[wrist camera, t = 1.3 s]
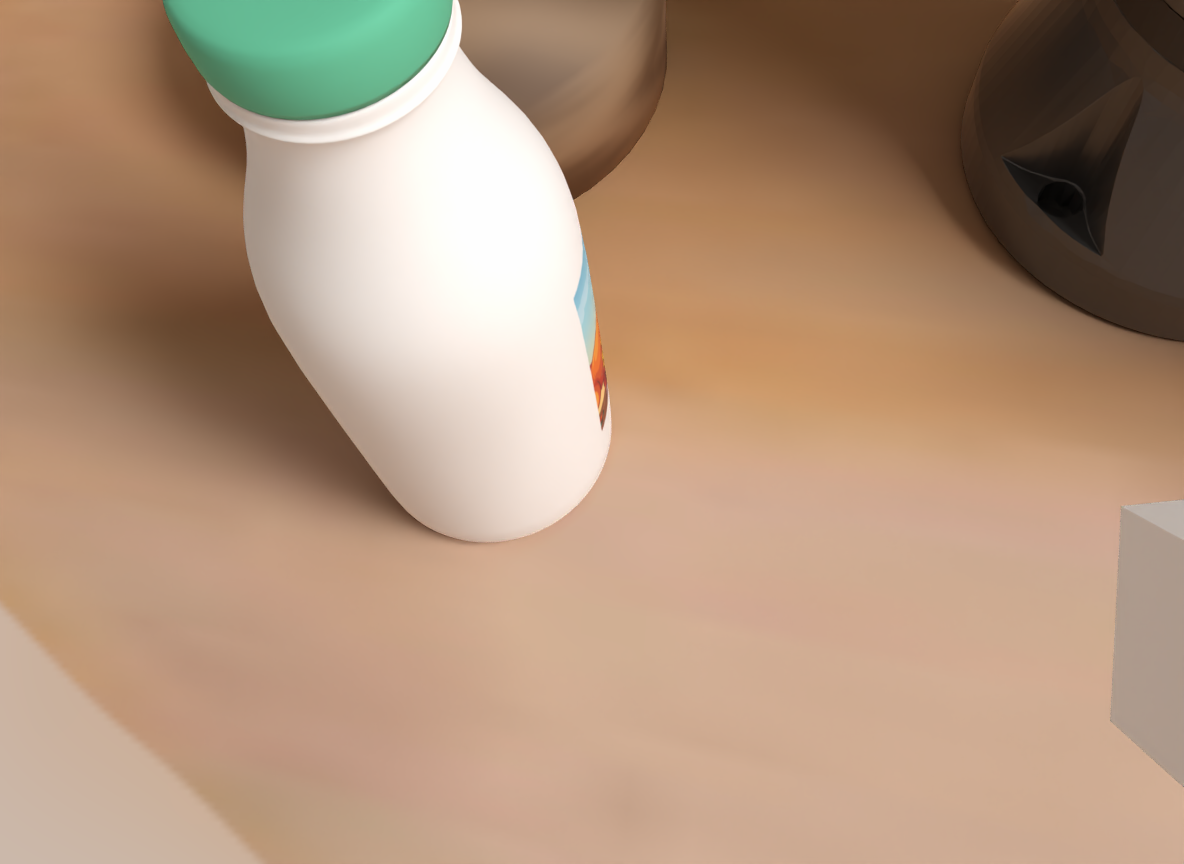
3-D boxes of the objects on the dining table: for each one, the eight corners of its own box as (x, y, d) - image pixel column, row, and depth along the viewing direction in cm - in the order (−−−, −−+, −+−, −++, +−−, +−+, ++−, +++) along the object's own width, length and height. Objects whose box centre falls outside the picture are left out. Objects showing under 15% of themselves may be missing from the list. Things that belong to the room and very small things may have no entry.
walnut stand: (334, -104, 46) (286, -241, 40) (702, -66, 43) (705, -206, 38) (199, 202, 40) (121, 92, 34) (616, 267, 37) (605, 160, 32)
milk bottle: (605, 555, 33) (508, 141, 15) (364, 543, 34) (-11, 136, 16) (621, 336, 36) (556, -234, 18) (399, 330, 37) (118, -222, 19)
